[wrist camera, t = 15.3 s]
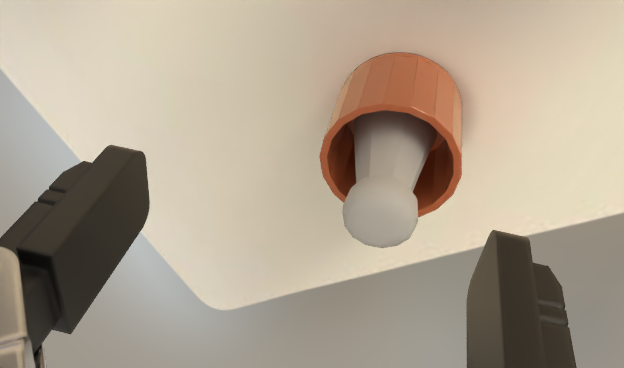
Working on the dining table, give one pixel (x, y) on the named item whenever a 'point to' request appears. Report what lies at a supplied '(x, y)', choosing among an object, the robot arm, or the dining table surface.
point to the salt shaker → (386, 176)
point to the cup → (401, 98)
